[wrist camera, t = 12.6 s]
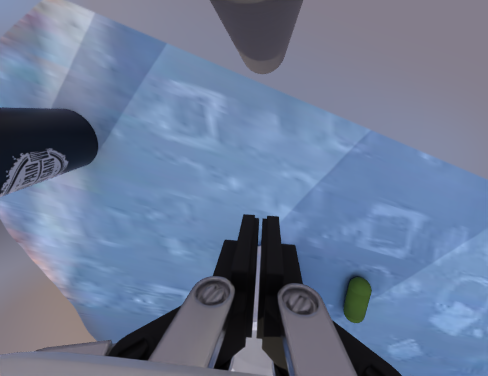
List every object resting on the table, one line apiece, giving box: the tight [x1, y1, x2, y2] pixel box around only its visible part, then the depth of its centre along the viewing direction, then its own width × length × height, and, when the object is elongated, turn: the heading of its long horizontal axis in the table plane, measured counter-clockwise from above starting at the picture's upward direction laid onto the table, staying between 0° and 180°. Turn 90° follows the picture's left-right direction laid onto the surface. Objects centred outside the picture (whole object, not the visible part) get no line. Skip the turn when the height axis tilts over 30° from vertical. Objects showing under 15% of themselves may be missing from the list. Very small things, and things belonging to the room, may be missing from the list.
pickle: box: [343, 277, 372, 323], centre depth 36 cm, size 8×3×3 cm, turn 179°
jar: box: [231, 246, 273, 376], centre depth 31 cm, size 11×10×15 cm
